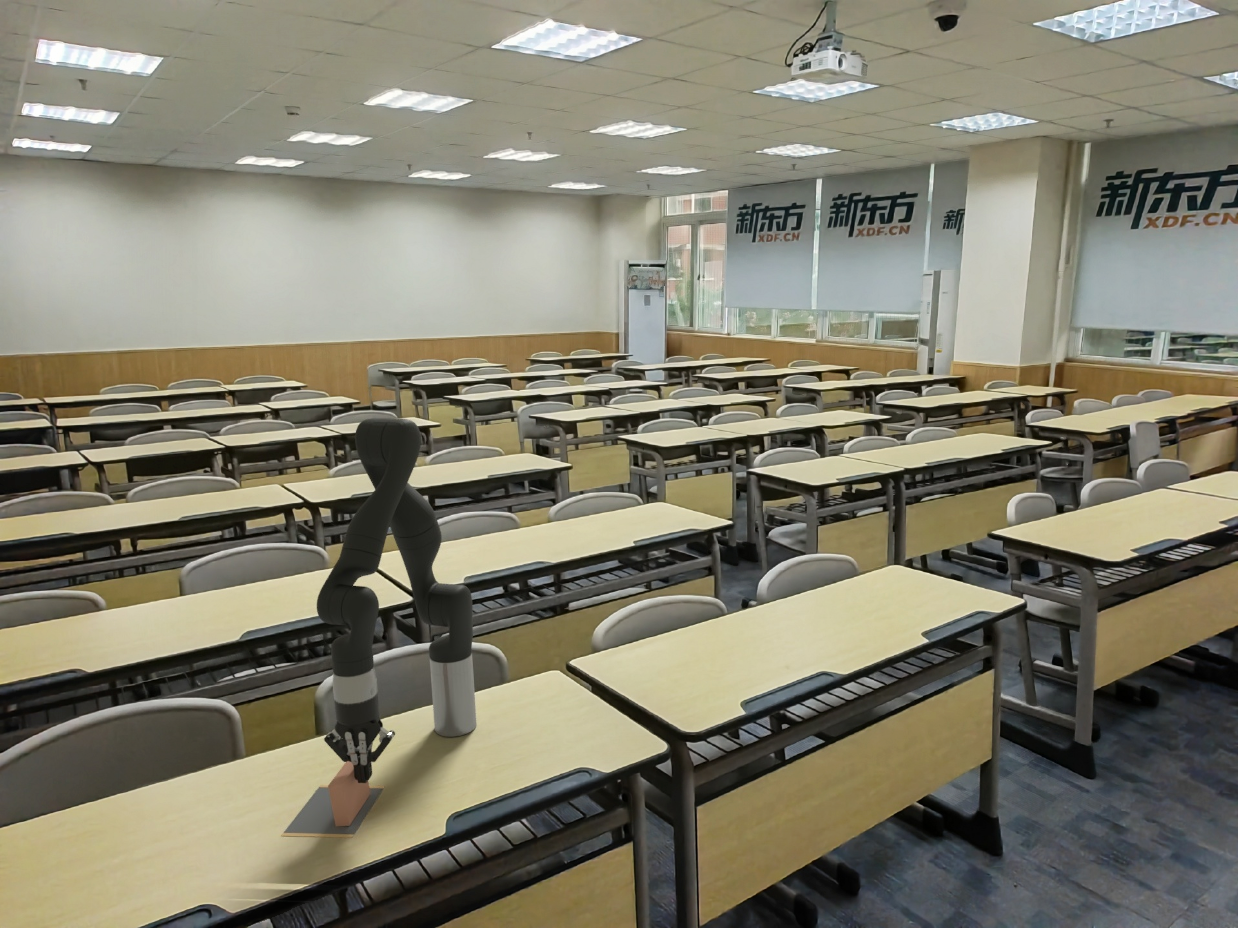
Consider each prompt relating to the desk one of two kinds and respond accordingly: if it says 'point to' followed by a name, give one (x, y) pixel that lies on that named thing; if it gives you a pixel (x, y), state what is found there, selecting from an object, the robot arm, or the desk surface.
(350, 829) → the mat
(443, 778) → the desk surface
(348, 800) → the slab
